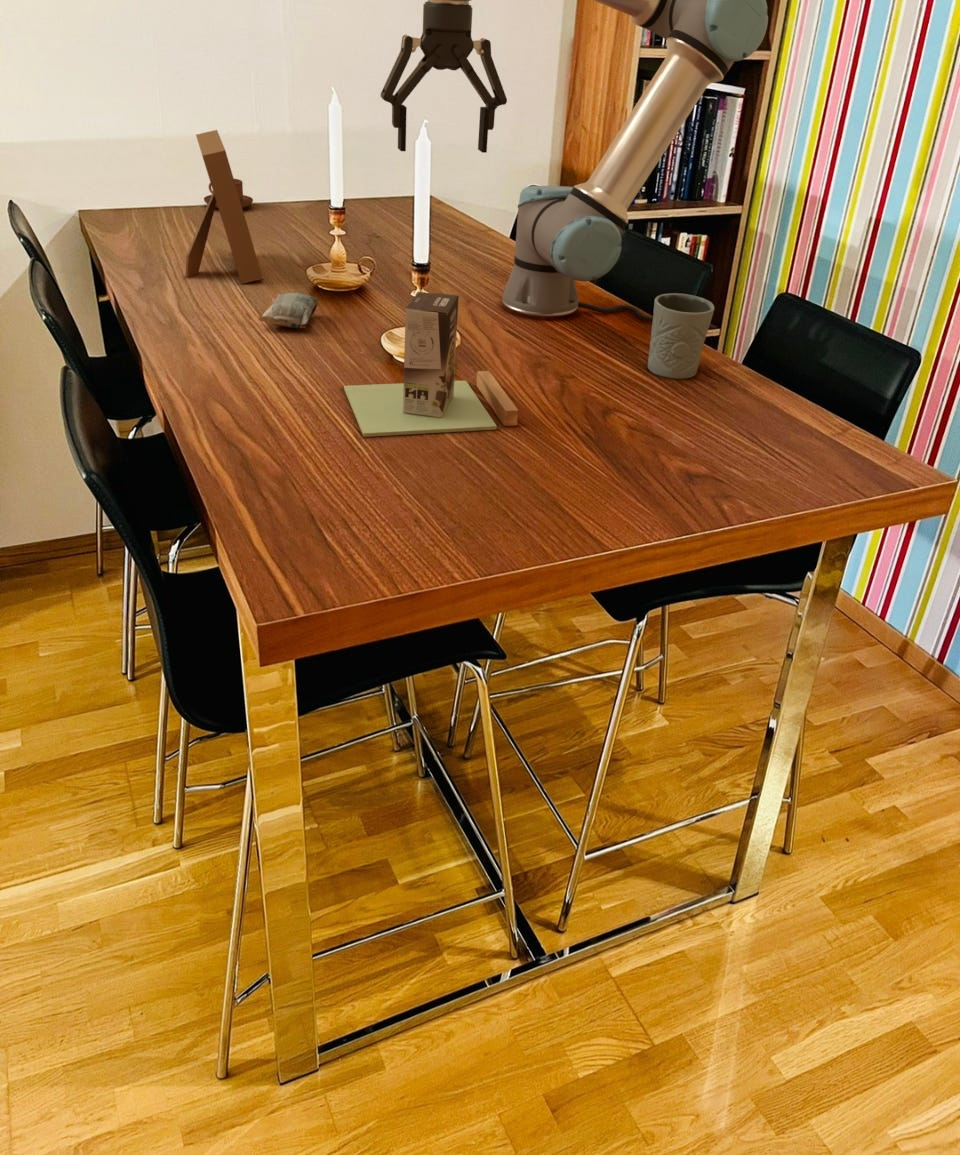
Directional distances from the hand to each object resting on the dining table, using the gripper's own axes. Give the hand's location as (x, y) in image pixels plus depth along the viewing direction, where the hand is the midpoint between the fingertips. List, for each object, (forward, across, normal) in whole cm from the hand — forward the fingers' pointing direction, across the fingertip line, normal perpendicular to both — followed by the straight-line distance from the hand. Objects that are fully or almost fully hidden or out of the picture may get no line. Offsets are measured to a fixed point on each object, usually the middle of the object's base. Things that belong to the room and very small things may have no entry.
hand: (442, 150), depth 165 cm
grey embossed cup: (+32, -38, +20) cm, 53 cm away
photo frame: (+32, +35, -45) cm, 65 cm away
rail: (+32, -2, +31) cm, 44 cm away
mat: (+32, +10, +31) cm, 45 cm away
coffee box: (+31, +8, +31) cm, 45 cm away
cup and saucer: (+32, +30, -99) cm, 108 cm away
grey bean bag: (+32, +25, -10) cm, 42 cm away
